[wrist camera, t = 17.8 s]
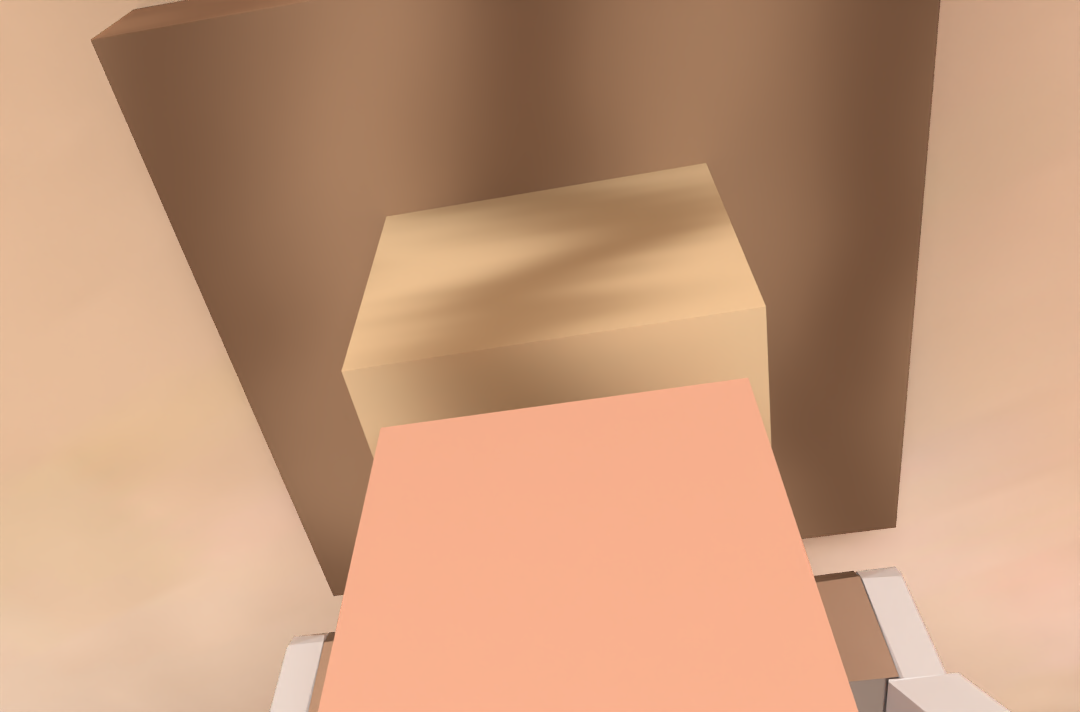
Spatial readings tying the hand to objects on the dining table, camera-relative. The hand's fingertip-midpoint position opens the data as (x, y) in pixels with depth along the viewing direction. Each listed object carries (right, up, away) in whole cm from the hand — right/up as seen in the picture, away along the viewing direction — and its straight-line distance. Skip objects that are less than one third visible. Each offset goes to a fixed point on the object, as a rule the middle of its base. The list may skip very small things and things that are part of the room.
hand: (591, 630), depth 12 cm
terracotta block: (0, +1, +1) cm, 2 cm away
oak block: (0, +4, +6) cm, 8 cm away
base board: (0, +5, +8) cm, 10 cm away
